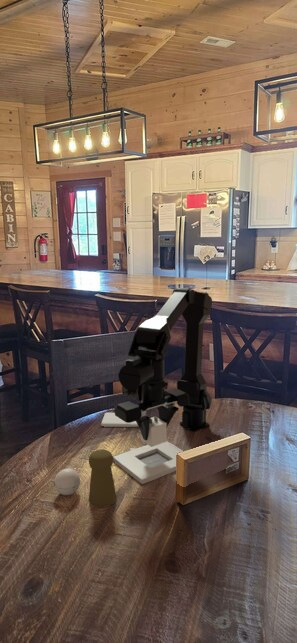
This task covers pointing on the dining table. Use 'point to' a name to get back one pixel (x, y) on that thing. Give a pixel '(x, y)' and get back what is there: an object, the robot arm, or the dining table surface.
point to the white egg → (67, 481)
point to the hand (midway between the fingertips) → (153, 436)
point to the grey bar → (126, 451)
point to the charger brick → (156, 432)
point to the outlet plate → (149, 461)
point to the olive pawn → (101, 479)
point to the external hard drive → (116, 421)
